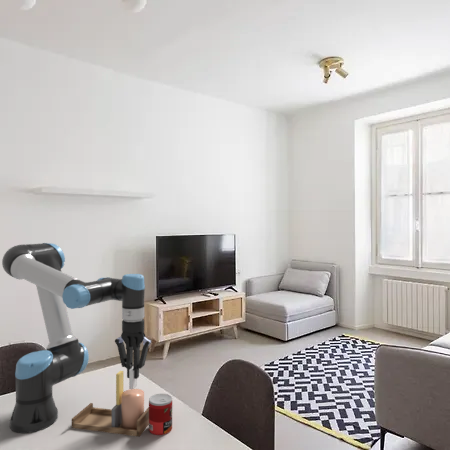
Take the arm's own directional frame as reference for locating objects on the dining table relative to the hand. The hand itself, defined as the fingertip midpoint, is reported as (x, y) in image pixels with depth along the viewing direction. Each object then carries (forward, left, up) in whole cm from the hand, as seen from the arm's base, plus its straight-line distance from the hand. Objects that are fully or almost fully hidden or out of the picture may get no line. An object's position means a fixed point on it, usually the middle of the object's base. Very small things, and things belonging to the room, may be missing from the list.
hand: (133, 387), depth 130 cm
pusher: (-5, 0, -14) cm, 15 cm away
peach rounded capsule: (0, 0, -13) cm, 13 cm away
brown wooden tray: (-7, 0, -14) cm, 16 cm away
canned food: (+10, 0, -14) cm, 17 cm away
